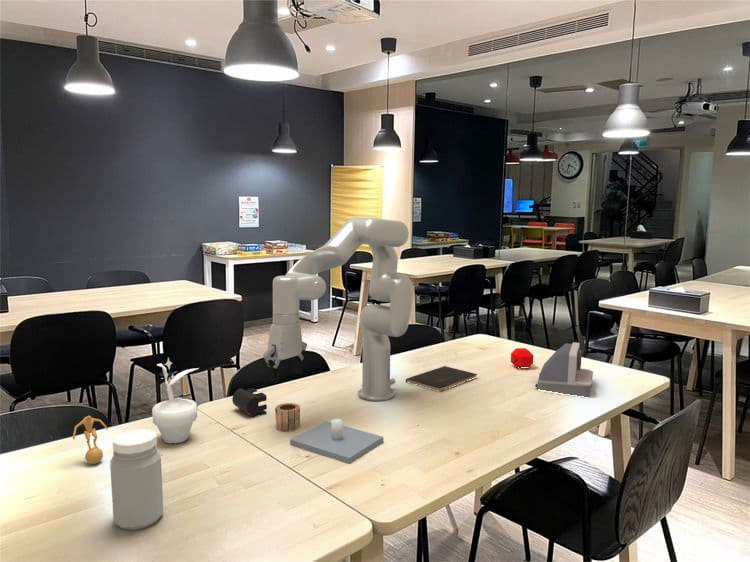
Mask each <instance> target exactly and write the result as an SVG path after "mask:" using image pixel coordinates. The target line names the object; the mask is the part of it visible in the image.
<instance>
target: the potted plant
mask: <svg viewBox="0 0 750 562" xmlns="http://www.w3.org/2000/svg"><path fill="white" fill-rule="evenodd" d="M172 364H173V362H171V360H170V357H167V361H166V363H164V364H162V363H157V364H156V366H157V367H160V368H162V373H163V376H164V377H163V378H164V383H165V385H166V392H167V395H168V400H163V401H161V402H158V403H156V404H154V406H153V407H152V413H151V415H152V424H154V425H155V427H157V429H158V431H159V433H160V435H161V438H162V440H163V441H164V443H167V444H172V443H174V444H180V443H183V442H185V441H186V440H188V439H189V436H190V433H191V430H192V426H193V423H194V422H195V421H196V420H197V417H198V405H197V402H196V401H195V400H193V399H187V398H182V397H175V395H174V392H173V388H172V386H173V385H174V384H175V383H177V382H178V381H179V380H181V378H183V377H184V376H186V375H187V374H189V373H192V372H194V371H197V370H200V367H198V368H190V369H185V370H182V371H181V372H179V373H177V374H175V375H174V373H172V374H171V376H170V378H171V379H169V380H170V381H169V382H168V376H169V374H168V372H167V367H168V370H169V371H170V369H171V365H172ZM165 366H167V367H165ZM172 445H173V444H172Z"/></svg>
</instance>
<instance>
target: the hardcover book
mask: <svg viewBox="0 0 750 562" xmlns="http://www.w3.org/2000/svg"><path fill="white" fill-rule="evenodd" d="M477 376H478V374H477V373H475V372H469V371H467V370H462V369H458V368H454V367H449V366H446V365H444V366H440V367H438V368H434V369H431V370H429V371H425V372H422V373H419V374H416V375H413V376H410V377H407V378H405V383H407V382H410V383H413V384H412V385H414V384H417V385H421V386H424V387H427V388H431V389H434V390H438V391H441V390H444V389H446V388H449V387H452V386H454V385H457V384H459V383H462V382H464V381H467V380H469V379H472V378H474V377H476V378H477ZM410 383H409V384H410ZM417 385H416V386H417ZM457 386H458V385H457ZM424 387H423V388H424ZM427 388H426V389H427ZM452 388H453V387H452ZM449 389H450V388H449ZM434 390H433V391H434ZM444 391H445V390H444ZM441 392H442V391H441Z"/></svg>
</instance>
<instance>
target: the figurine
mask: <svg viewBox="0 0 750 562" xmlns="http://www.w3.org/2000/svg"><path fill="white" fill-rule="evenodd" d="M94 422H98V423H99V422H100V424H101V426H103V427H104V428H105V430H106V431H109V429H108V427H107V425H106V424H105V423H104V422H103V421H102V419H99V418H94V417H92V416H91V415H88V416H85V417H84V418H83V419H82V420H81V421H80V422H79V423H78V424H76V425H75V426H74V429H73V434H72V440H76V433H77V428H79V427H80V426H82V425H84V427H85V430H84V432H83V434H84V437H85V439H86V443H87V447H88V450H87V451H86V452H85V457H84V459H85V461H86V463H89V464H90V465H96V464H98V463H100V462H101V460H103V457H104V453H103V451H102V449H101V448H99V447H98V446H97V442H96V441H97V438H98V435H97V431H96V428H95V427H94V428H93V425H94ZM91 436H92V437H94V438H93V447H92V446H91V444H90V440H91Z"/></svg>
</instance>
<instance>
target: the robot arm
mask: <svg viewBox="0 0 750 562" xmlns="http://www.w3.org/2000/svg"><path fill="white" fill-rule="evenodd" d="M409 235H410V232H409V229H408V226H407V224H405V223H404V222H403V221H401V220H395V219H394V220H393V219H383V218H376V217H362V216H358V217H351V218H348V219H347V220H345V222H344V223H343V224H341V227H339V229H338V230H337V231H336V232H335V233H334V234H333V235H332V237H330V238H329V240H328V241H327V242H326V243H325V244H324V245H322V246H320V247H318V248H317V249H315V250H313V251H312V252H310V253H308V254H307V255H304V256H303V257H301V258H299V260H298V261H297V262H295V264H293V265H292V267H291V268H290V269H289V270H288V271H287V272H286V273H285V275H277V276H275V277H274V278H273V280H272V324H271V325H270V329H269V334H268V343H267V350H266V351H264V353H263V354H262V357H263V359H264V362H265V364H266V365H267V367H269V376H268V377H269V381H273V382H279V381H280V367H278V366H279V364H280V363H281V361H283V360H287V359H290V358H293V359H292V373H294V374H299V375H301V374H303V360H304V356H305V354H306V349H307V347H308V343H306V342H304V341H303V338H302V337H303V336H302V327H301V323H300V315H301V314H300V301H301V300H303V301H315V300H319V299H321V298H322V297H323V296H324V295H325V294H326V293H325V292H326V290H327V284H326V281H325V280H324V278H322V277H321V276H319V275H318V274H320V273H322V272H324V271H329V270H332V269H336V268H339V267H341V266H343V265H345V264H346V263H347V262H348V261H349V259H350V258H351V257H352V256H353V255H354V254H355V252H356V251H358V249H359V248H360V247H361V246H363V245H365V246H367V245H368V247H369V249H370V250H371V253H372V266H371V272H370V273H371V274H370V280H369V286H368V294H369V296H370V298H371V299H373V300H376V301H378V302H386V303H390V305H389V306H388V305H382V304H377V303H376V304H375V303H374V304H373V303H372V304H368V305H366V306H365V307H363V308H362V310H361V311H360V313H359V325H360V330H361V336H362V337H361V340H362V361H361V362H362V363H361V364H362V367H361V368H362V372H361V375H362V377H361V378H362V383H361V384H362V385H361V386H362V387H361V388H360V389H358V391H357V396H358V397H359V398H360V399H363V400H366V401H371V402H373V401H374V402H375V401H376V402H379V401H380V402H381V401H387V400H391V399H392V398H394V396H395V391H394V390H393V389H392V388H391V386H393V385H394V384H396V381H397V380H396V379H395V378H394V377H393V378H391V342H390V338H389V337H393V338H398V337H402V336H403V335H405V333H406V332H407V331H408V328H409V324H410V319H411V312H412V308H413V307H412V305H413V301H414V299H413V298H414V285H413V283H412V280H411V279H410V278H409V277H408V276H405V275H401V274H397V273H398V263H399V262H398V261H399V258H398V254H397V251H396V249H395V248H400V247H402V246H404V245H405V244H406V243H407V241H408V239H409Z"/></svg>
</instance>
